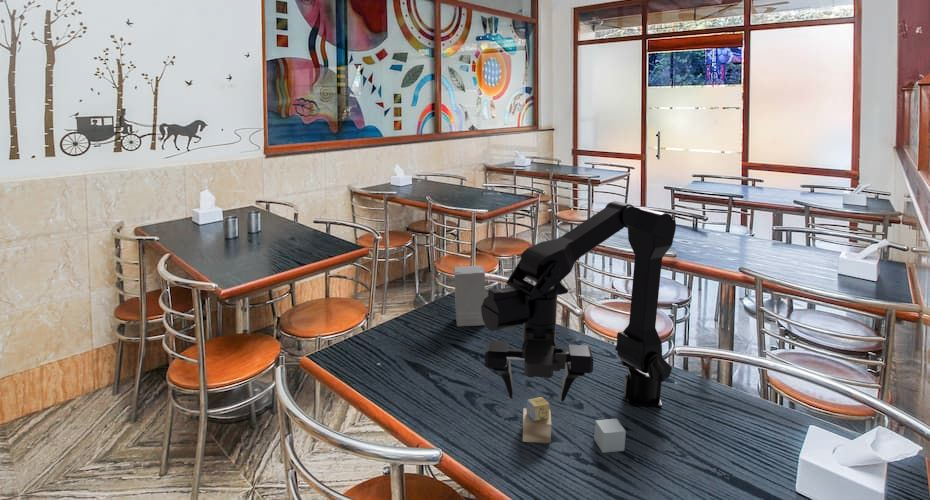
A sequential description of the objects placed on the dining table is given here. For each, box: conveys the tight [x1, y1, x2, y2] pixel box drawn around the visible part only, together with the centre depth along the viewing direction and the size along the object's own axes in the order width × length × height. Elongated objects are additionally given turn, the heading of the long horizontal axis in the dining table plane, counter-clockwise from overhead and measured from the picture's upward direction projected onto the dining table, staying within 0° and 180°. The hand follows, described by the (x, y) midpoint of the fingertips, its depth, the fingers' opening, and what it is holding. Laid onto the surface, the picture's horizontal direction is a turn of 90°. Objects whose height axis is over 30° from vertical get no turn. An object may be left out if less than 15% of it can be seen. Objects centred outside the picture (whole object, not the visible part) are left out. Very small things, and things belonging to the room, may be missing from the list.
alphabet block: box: [526, 396, 550, 421], centre depth 100 cm, size 3×3×3 cm
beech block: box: [522, 407, 552, 444], centre depth 101 cm, size 5×5×4 cm
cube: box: [593, 418, 627, 454], centre depth 98 cm, size 4×4×4 cm
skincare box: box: [453, 265, 486, 327], centre depth 151 cm, size 8×7×16 cm
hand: (536, 398), depth 100 cm, fingers open, 9 cm apart
